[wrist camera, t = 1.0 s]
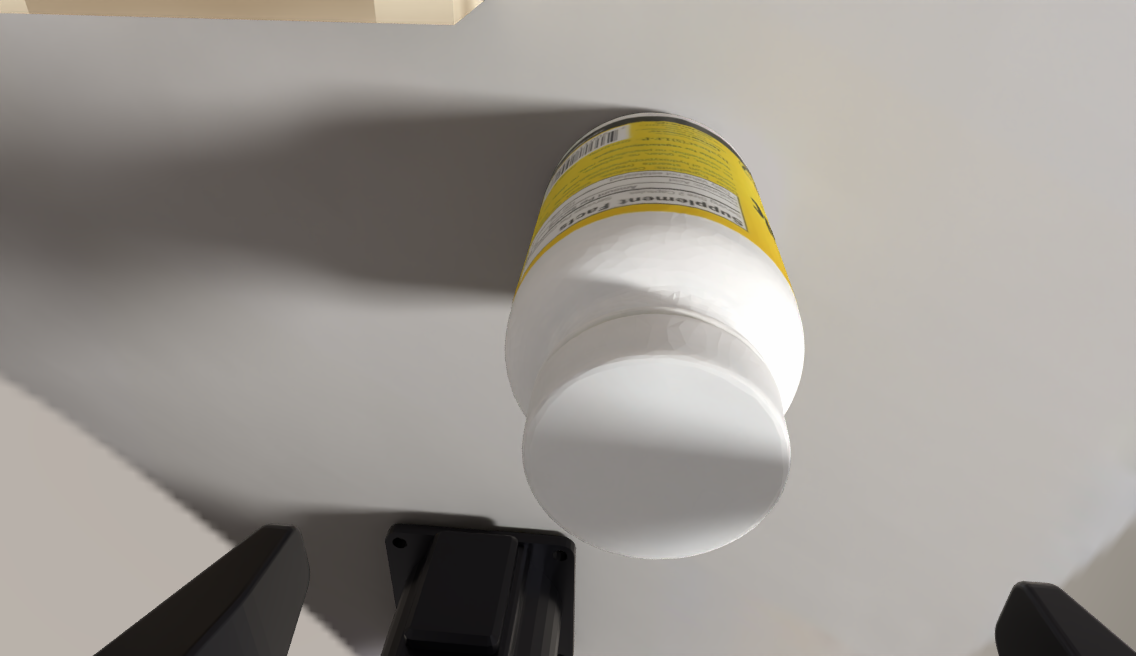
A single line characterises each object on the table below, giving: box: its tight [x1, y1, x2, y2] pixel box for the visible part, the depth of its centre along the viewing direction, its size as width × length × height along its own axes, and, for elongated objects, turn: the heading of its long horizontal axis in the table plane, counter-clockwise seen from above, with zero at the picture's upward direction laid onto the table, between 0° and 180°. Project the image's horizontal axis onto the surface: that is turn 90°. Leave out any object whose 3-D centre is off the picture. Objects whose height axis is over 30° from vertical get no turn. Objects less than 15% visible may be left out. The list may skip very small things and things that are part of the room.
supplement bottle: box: [505, 113, 804, 559], centre depth 15 cm, size 5×5×10 cm
